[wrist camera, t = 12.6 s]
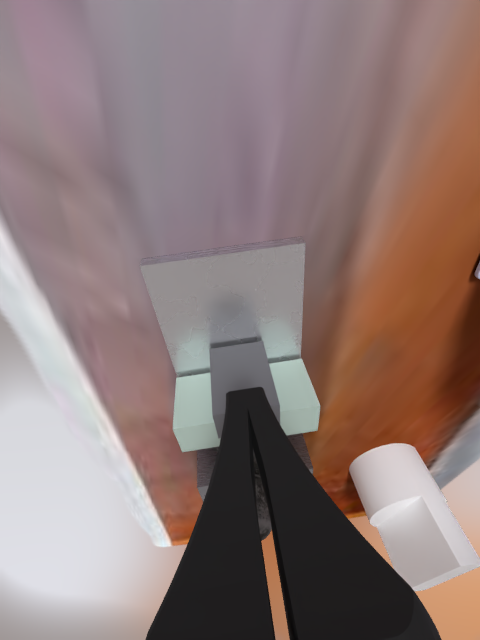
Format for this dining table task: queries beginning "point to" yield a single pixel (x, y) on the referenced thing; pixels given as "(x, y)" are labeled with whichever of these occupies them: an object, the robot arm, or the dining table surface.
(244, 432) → the robot arm
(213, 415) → the vise jaw
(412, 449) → the cylinder with rectangular tab
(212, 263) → the plate
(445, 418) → the dining table surface
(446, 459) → the dining table surface
